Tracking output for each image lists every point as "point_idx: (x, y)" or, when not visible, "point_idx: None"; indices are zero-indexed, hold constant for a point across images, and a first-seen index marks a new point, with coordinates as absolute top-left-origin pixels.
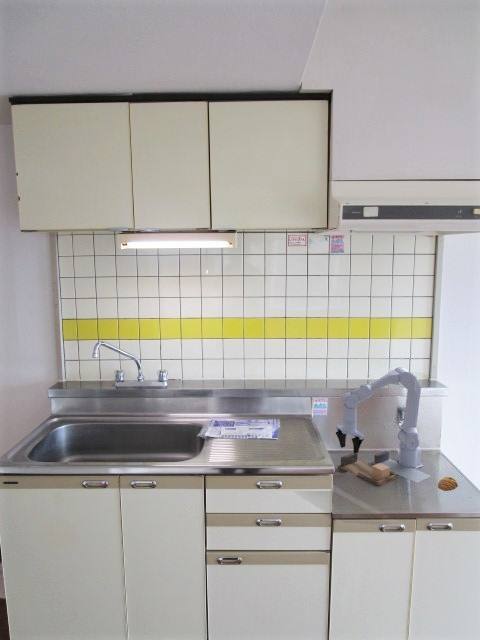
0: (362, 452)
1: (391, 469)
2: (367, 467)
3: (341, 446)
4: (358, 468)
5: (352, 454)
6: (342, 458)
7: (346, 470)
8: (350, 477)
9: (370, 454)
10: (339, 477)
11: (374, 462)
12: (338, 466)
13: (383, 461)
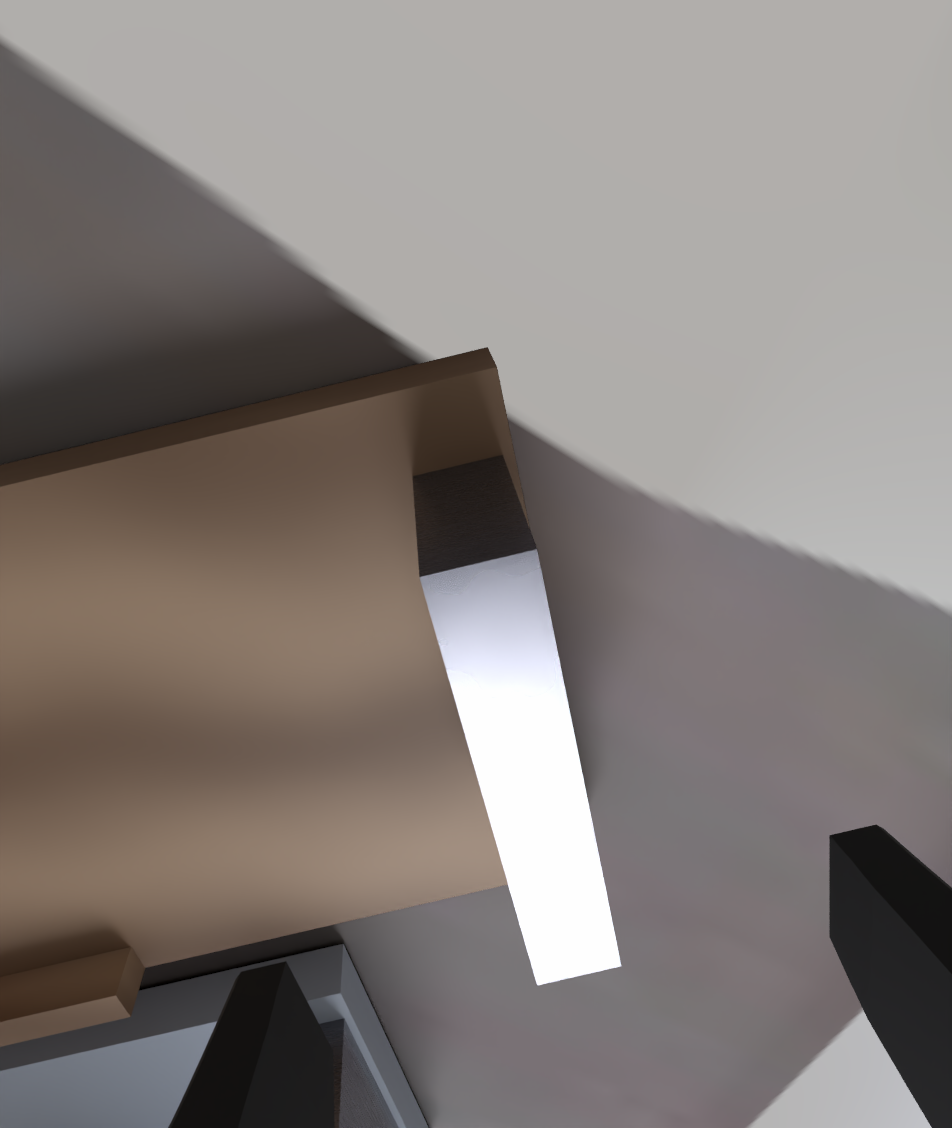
0: (801, 1012)
1: (34, 1103)
2: (205, 867)
3: (859, 868)
4: (212, 715)
5: (548, 888)
6: (463, 562)
7: (206, 435)
8: (5, 385)
9: (690, 1061)
10: (53, 104)
11: (343, 1023)
12: (477, 370)
13: None
